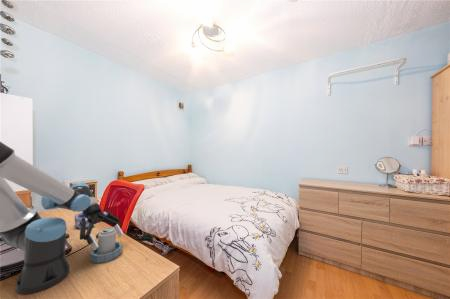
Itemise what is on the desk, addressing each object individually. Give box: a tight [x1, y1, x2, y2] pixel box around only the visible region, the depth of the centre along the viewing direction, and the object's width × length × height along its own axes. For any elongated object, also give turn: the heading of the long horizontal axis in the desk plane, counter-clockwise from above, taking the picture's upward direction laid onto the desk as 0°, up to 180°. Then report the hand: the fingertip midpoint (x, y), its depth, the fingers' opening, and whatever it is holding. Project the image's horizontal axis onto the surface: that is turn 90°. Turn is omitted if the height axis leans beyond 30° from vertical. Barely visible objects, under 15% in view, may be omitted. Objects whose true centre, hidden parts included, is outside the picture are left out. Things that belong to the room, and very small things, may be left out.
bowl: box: [89, 241, 123, 264], centre depth 88 cm, size 13×13×4 cm
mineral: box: [74, 212, 95, 229], centre depth 119 cm, size 14×10×10 cm
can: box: [97, 226, 117, 255], centre depth 88 cm, size 8×8×12 cm
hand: (109, 241), depth 88 cm, fingers open, 13 cm apart
